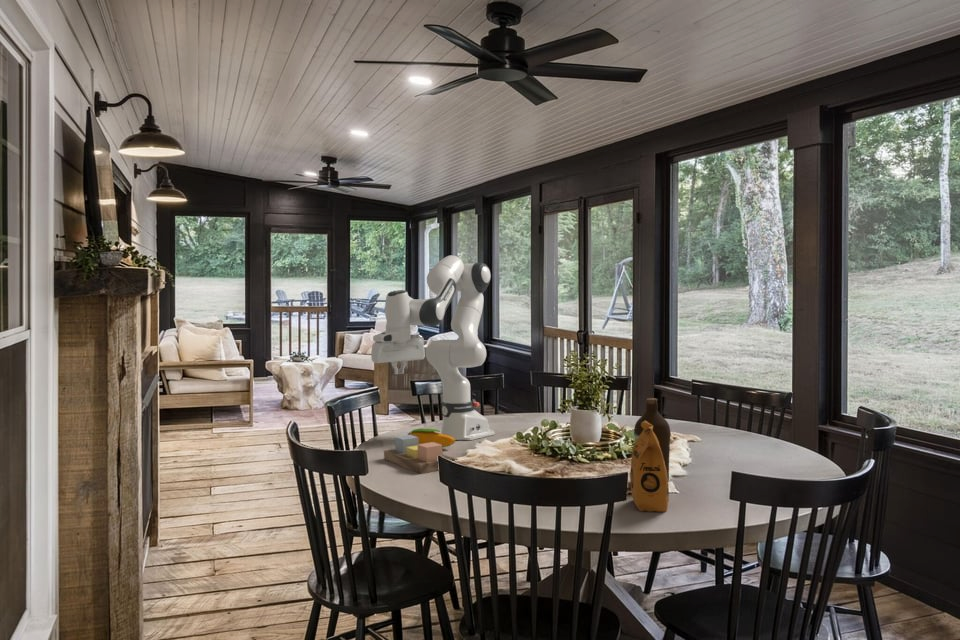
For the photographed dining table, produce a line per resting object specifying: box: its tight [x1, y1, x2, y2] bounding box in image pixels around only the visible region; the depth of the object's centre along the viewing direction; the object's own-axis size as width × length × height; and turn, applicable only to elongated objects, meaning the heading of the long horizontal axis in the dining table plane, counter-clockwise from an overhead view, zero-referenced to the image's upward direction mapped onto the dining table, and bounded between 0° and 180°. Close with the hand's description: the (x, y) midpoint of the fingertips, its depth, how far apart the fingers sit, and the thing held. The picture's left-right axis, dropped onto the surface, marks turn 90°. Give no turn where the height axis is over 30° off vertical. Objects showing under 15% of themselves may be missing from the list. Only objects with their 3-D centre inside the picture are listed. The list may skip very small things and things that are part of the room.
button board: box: [383, 448, 456, 475], centre depth 244 cm, size 13×26×3 cm, turn 35°
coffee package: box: [629, 421, 670, 513], centre depth 191 cm, size 10×12×22 cm
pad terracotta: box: [418, 442, 444, 462], centre depth 237 cm, size 6×6×5 cm
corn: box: [407, 428, 456, 448], centre depth 266 cm, size 7×8×20 cm
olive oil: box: [633, 397, 671, 483], centre depth 214 cm, size 11×11×25 cm
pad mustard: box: [406, 445, 418, 458], centre depth 243 cm, size 6×6×5 cm
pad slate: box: [394, 434, 419, 454], centre depth 250 cm, size 6×6×5 cm
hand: (399, 373), depth 257 cm, fingers closed
